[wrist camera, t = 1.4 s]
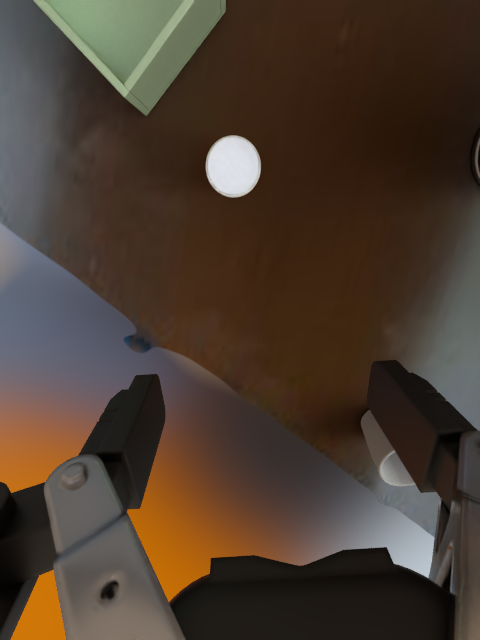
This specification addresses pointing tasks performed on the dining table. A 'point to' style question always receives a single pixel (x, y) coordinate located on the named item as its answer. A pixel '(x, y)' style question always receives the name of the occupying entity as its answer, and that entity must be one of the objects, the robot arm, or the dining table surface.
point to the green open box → (136, 39)
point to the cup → (384, 453)
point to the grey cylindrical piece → (233, 166)
